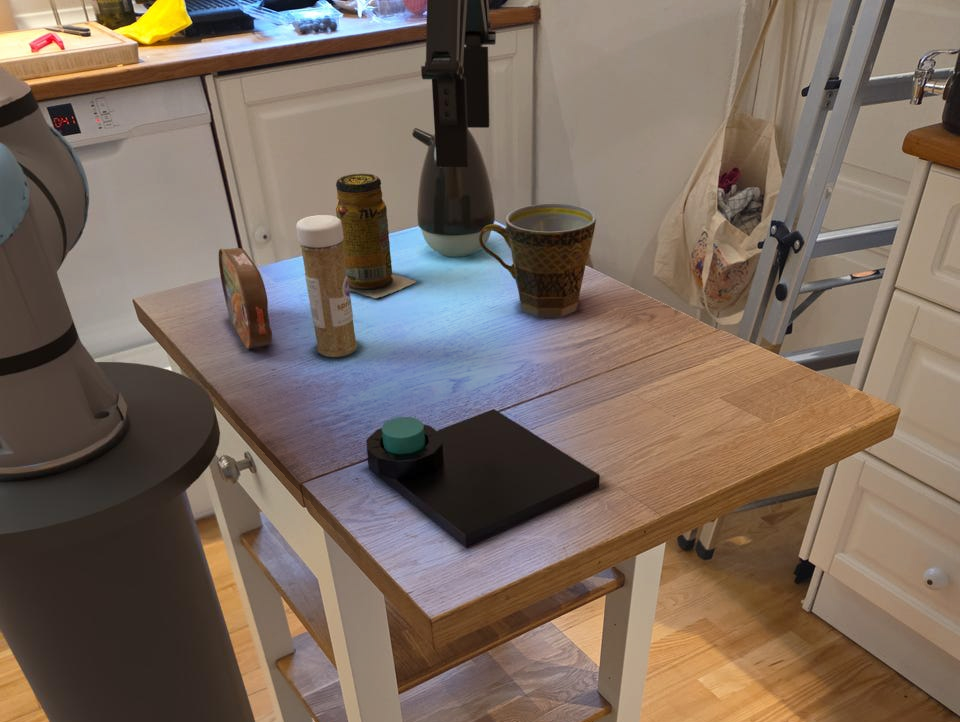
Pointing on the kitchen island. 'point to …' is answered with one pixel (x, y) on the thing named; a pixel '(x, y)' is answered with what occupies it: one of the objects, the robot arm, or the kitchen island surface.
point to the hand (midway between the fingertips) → (464, 145)
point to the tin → (245, 297)
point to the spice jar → (327, 284)
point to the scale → (481, 475)
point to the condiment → (366, 236)
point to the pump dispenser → (454, 201)
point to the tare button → (403, 435)
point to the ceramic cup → (547, 255)
